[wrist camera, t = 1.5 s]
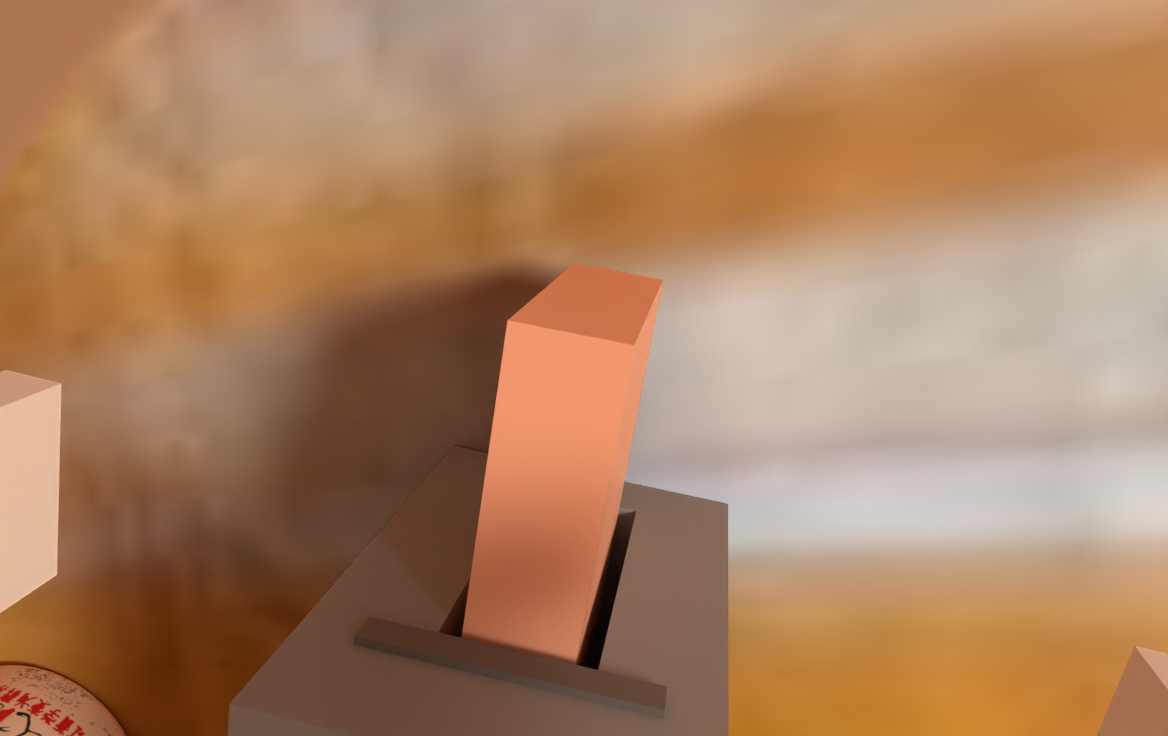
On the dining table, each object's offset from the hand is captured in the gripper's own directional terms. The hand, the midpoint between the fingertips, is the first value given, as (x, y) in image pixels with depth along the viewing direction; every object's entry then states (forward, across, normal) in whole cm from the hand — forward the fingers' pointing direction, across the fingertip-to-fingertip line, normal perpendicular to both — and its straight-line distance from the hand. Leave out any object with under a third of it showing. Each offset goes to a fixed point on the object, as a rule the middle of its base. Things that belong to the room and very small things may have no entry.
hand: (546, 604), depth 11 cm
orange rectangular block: (+15, +1, +7) cm, 16 cm away
